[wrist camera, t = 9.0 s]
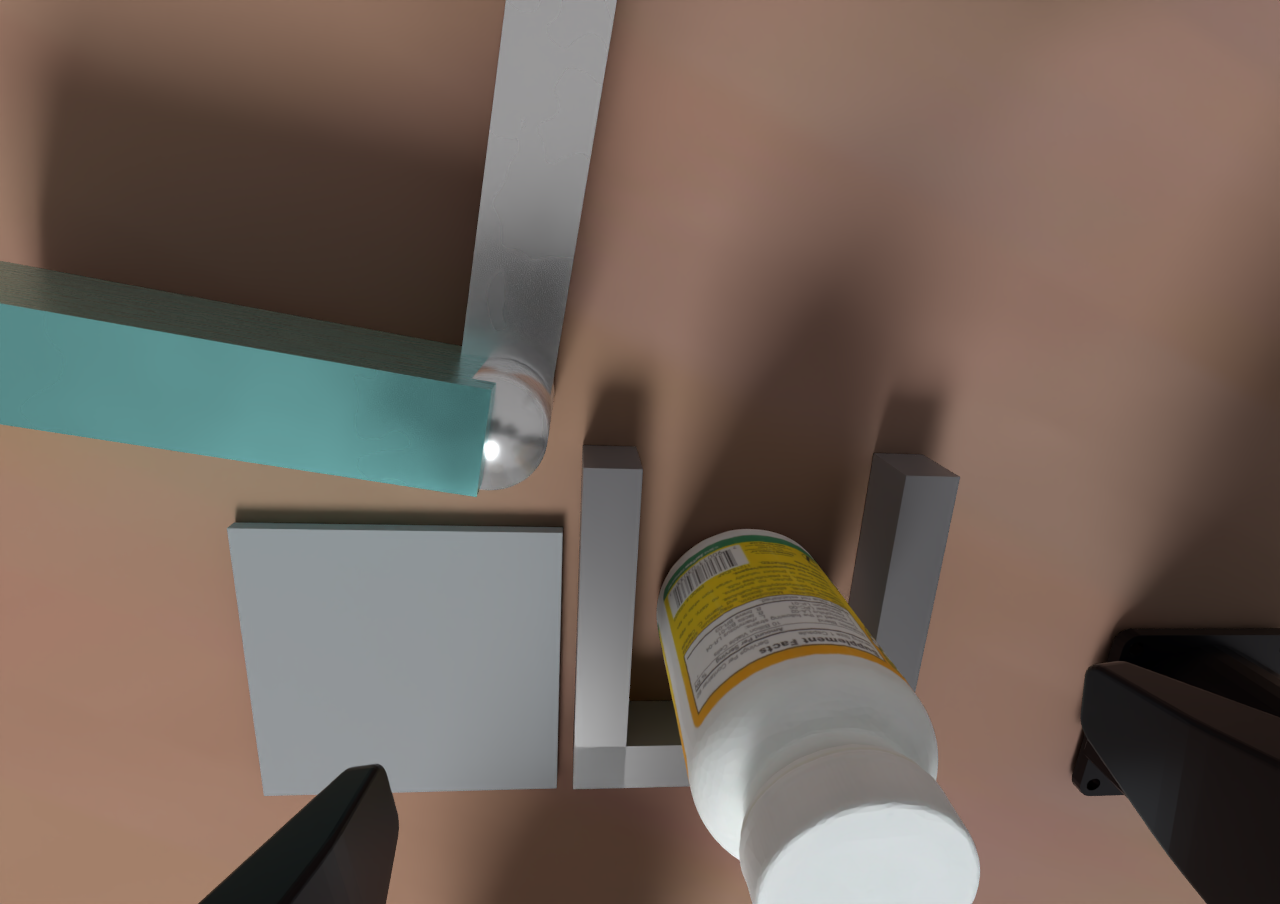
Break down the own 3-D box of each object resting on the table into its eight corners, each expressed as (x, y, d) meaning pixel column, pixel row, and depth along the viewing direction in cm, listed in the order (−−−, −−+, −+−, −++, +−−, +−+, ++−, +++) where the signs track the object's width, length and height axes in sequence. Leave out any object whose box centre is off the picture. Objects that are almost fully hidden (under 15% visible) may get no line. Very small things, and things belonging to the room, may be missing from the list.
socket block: (922, 454, 19) (959, 476, 17) (869, 735, 22) (896, 781, 20) (582, 445, 18) (583, 467, 16) (573, 740, 21) (572, 789, 19)
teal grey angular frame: (0, -256, 13) (-339, -552, 8) (634, -75, 15) (661, -229, 10) (33, 355, 16) (-192, 400, 11) (546, 441, 18) (535, 510, 13)
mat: (562, 527, 19) (562, 532, 19) (557, 778, 22) (556, 788, 21) (234, 522, 18) (226, 528, 18) (269, 785, 21) (264, 795, 20)
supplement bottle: (673, 511, 19) (761, 750, 10) (844, 537, 20) (1069, 779, 11) (638, 668, 21) (687, 999, 12) (798, 686, 21) (962, 1010, 12)
